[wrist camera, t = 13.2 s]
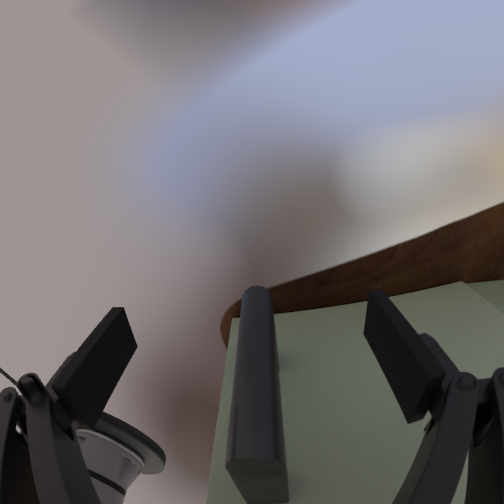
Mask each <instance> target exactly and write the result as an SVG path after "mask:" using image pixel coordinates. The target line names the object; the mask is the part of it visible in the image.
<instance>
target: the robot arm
mask: <svg viewBox="0 0 504 504" xmlns="http://www.w3.org/2000/svg"><path fill="white" fill-rule="evenodd" d="M363 335H364V336H365V338H366V340H367V342H368V344H369V346H370V348H371V350H372V352H373V353H374V355H375V357H376V359H377V361H378V363H379V365H380V367H381V369H382V371H383V373H384V375H385V377H386V379H387V381H388V383H389V385H390V387H391V389H392V391H393V393H394V395H395V398H396V400H397V402H398V404H399V406H400V408H401V410H402V412H403V415H404V417H405V419H406V421H407V423H408V424H410V423H413V422H416V421H419V420H422V419H424V417H425V415H426V413H427V412H428V410H429V412H430V414H431V416H432V417H431V419H430V420H429V422H428V424H427V425H426V427H425V428H424V430H423V431H425V434H424V437H423V439H422V442H421V444H420V447H419V449H418V452H417V454H416V457H415V459H414V461H413V463H412V466H411V468H410V470H409V472H408V474H407V476H406V478H405V480H404V482H403V484H402V486H401V488H400V490H399V492H398V494H397V495H396V497H395V499H394V501H393V502H392V504H451V502H452V500H453V497H454V494H455V492H456V489H457V486H458V483H459V480H460V477H461V474H462V471H463V468H464V465H465V461H466V457H467V454H468V474H467V486H466V495H465V503H464V504H504V367H501V368H497V369H496V370H495V371H494V373H493V375H492V377H491V378H484V379H477V378H476V377H475V376H474V375H473V374H471V373H468V372H460V371H459V369H458V368H457V367H456V365H455V364H454V363H453V361H452V360H451V359H450V358H449V356H448V355H447V354H446V352H444V350H443V349H442V347H441V346H439V344H438V342H437V341H436V340H435V339H434V338H433V337H431V336H430V335H428V334H427V333H422V334H418V333H417V332H416V331H415V329H414V328H413V327H412V326H411V324H410V323H409V322H408V321H407V319H406V318H405V317H404V316H403V314H402V313H401V312H400V311H399V309H398V308H397V307H396V306H395V305H394V303H393V302H392V301H391V300H390V299H389V297H388V296H387V295H386V294H385V293H384V292H383V290H382V289H380V290H372V291H369V292H368V301H367V310H366V318H365V325H364V332H363ZM137 347H138V346H137V344H136V341H135V338H134V336H133V333H132V330H131V327H130V325H129V322H128V319H127V316H126V313H125V310H124V307H113V308H112V309H111V310H110V311H109V312H108V314H107V315H106V316H105V317H104V318H103V319H102V321H101V322H100V323H99V324H98V325H97V327H96V328H95V329H94V330H93V331H92V333H91V334H90V335H89V337H88V338H87V339H86V340H85V341H84V342H83V344H82V345H81V346H80V347H79V349H78V350H77V351H76V352H74V353H72V354H71V355H70V356H68V357H67V358H66V360H65V361H64V362H63V365H61V366H60V367H59V370H57V371H56V373H55V374H54V375H53V377H52V378H51V379H50V381H49V382H48V383H47V385H46V386H44V385H43V383H42V382H41V380H40V379H39V377H38V376H37V375H36V374H35V373H28V374H25V375H23V376H22V377H21V378H20V379H19V380H18V382H16V381H15V380H14V379H13V378H12V377H10V376H9V375H8V374H7V373H6V372H4V371H3V370H2V369H1V368H0V372H1V373H2V374H3V375H4V376H5V377H6V378H8V379H9V380H10V381H11V382H12V383H13V384H14V385H16V386H17V388H18V389H19V391H20V392H21V393H22V395H19V394H18V392H17V391H16V389H15V388H13V387H8V388H5V389H4V390H2V392H1V393H0V504H123V501H124V497H125V494H126V490H127V489H128V487H129V486H130V485H131V484H132V483H133V481H134V480H135V479H136V478H137V476H138V477H139V476H140V474H141V472H142V470H143V468H144V465H145V460H144V458H143V457H142V456H141V455H140V454H139V453H138V452H137V451H136V450H135V449H133V448H132V447H130V446H129V445H127V444H126V443H124V442H122V441H121V440H119V439H117V438H115V437H113V436H111V435H109V434H107V433H105V432H102V431H100V430H97V429H94V428H95V426H96V424H97V422H98V420H99V418H100V416H101V414H102V412H103V410H104V408H105V406H106V404H107V402H108V400H109V398H110V396H111V394H112V392H113V391H114V389H115V387H116V385H117V383H118V381H119V379H120V377H121V376H122V374H123V372H124V370H125V368H126V367H127V365H128V363H129V361H130V359H131V358H132V356H133V354H134V352H135V350H136V349H137ZM74 420H75V421H76V422H77V423H78V425H79V426H80V427H78V428H77V429H76V431H75V428H74V426H73V425H72V422H73V421H74ZM16 425H17V426H18V427H19V428H20V429H21V431H20V432H18V431H17V430H16Z"/></svg>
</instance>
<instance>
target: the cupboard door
mask: <svg viewBox="0 0 504 504" xmlns="http://www.w3.org/2000/svg"><path fill="white" fill-rule="evenodd" d="M389 299H390V300H391V301H392V302H393V303H394V305H395V306H396V307H397V308H398V309H399V311H400V312H401V313H402V314H403V316H404V317H405V318H406V319H407V321H408V322H409V323H410V324H411V326H412V327H413V328H414V329H415V331H416V332H417V333H418V334H422V333H427V334H428V335H430V336H431V337H433V338H434V339H435V340H436V341H437V342H438V344H439V346H441V347H442V349H443V350H444V352H446V354H447V355H448V356H449V358H450V359H451V360H452V361H453V363H454V364H455V365H456V367H457V368H458V369H459V371H460V372H468V373H471V374H473V375H474V376H475V377H476V378H477V379H484V378H491V377H492V375H493V373H494V371H495V370H496V369H497V368H501V367H504V315H503V314H502V313H501V312H500V311H499V310H498V309H496V308H495V307H494V306H493V305H492V304H490V303H489V302H488V301H487V300H485V299H484V298H483V297H482V296H480V295H479V294H478V293H477V292H475V291H474V290H473V289H472V288H470V287H469V286H468V285H466V284H465V283H464V282H462V281H459V282H455V283H451V284H447V285H443V286H439V287H434V288H430V289H425V290H421V291H416V292H411V293H407V294H402V295H397V296H391V297H389ZM366 310H367V301H364V302H358V303H352V304H346V305H340V306H333V307H326V308H320V309H312V310H305V311H297V312H289V313H281V314H274V310H273V301H272V295H271V293H270V292H269V291H268V290H267V289H266V288H264V287H261V286H253V287H250V288H248V289H247V290H246V291H245V292H244V294H243V296H242V303H241V313H240V318H232V323H231V330H230V337H229V343H228V350H227V357H226V364H225V370H224V377H223V384H222V391H221V398H220V405H219V413H218V420H217V426H216V434H215V441H214V448H213V456H212V463H211V470H210V478H209V486H208V493H207V502H206V504H392V502H393V501H394V499H395V497H396V495H397V494H398V492H399V490H400V488H401V486H402V484H403V482H404V480H405V478H406V476H407V474H408V472H409V470H410V468H411V466H412V463H413V461H414V459H415V457H416V454H417V452H418V449H419V447H420V444H421V442H422V439H423V437H424V434H425V431H423V430H424V428H425V427H426V425H427V424H428V422H429V420H430V419H431V417H432V416H431V414H430V412H429V410H428V412H427V413H426V415H425V417H424V419H422V420H419V421H416V422H413V423H410V424H408V423H407V421H406V419H405V417H404V415H403V412H402V410H401V408H400V406H399V404H398V402H397V400H396V398H395V395H394V393H393V391H392V389H391V387H390V385H389V383H388V381H387V379H386V377H385V375H384V373H383V371H382V369H381V367H380V365H379V363H378V361H377V359H376V357H375V355H374V353H373V352H372V350H371V348H370V346H369V344H368V342H367V340H366V338H365V336H364V335H363V332H364V325H365V318H366ZM467 474H468V454H467V457H466V461H465V465H464V468H463V471H462V474H461V477H460V480H459V483H458V486H457V489H456V492H455V494H454V497H453V500H452V502H451V504H464V503H465V495H466V486H467Z"/></svg>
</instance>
